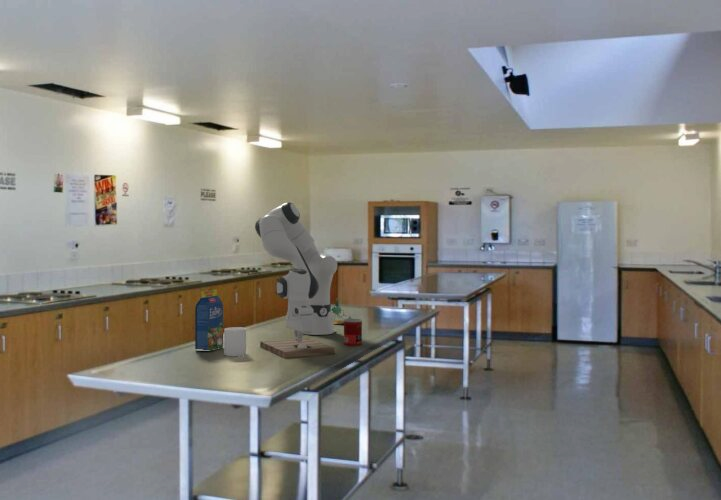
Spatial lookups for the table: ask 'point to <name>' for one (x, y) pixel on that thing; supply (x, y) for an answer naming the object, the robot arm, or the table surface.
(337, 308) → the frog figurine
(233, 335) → the mug
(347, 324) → the canned food
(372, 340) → the table surface
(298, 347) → the ball
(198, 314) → the blue food package
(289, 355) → the board
